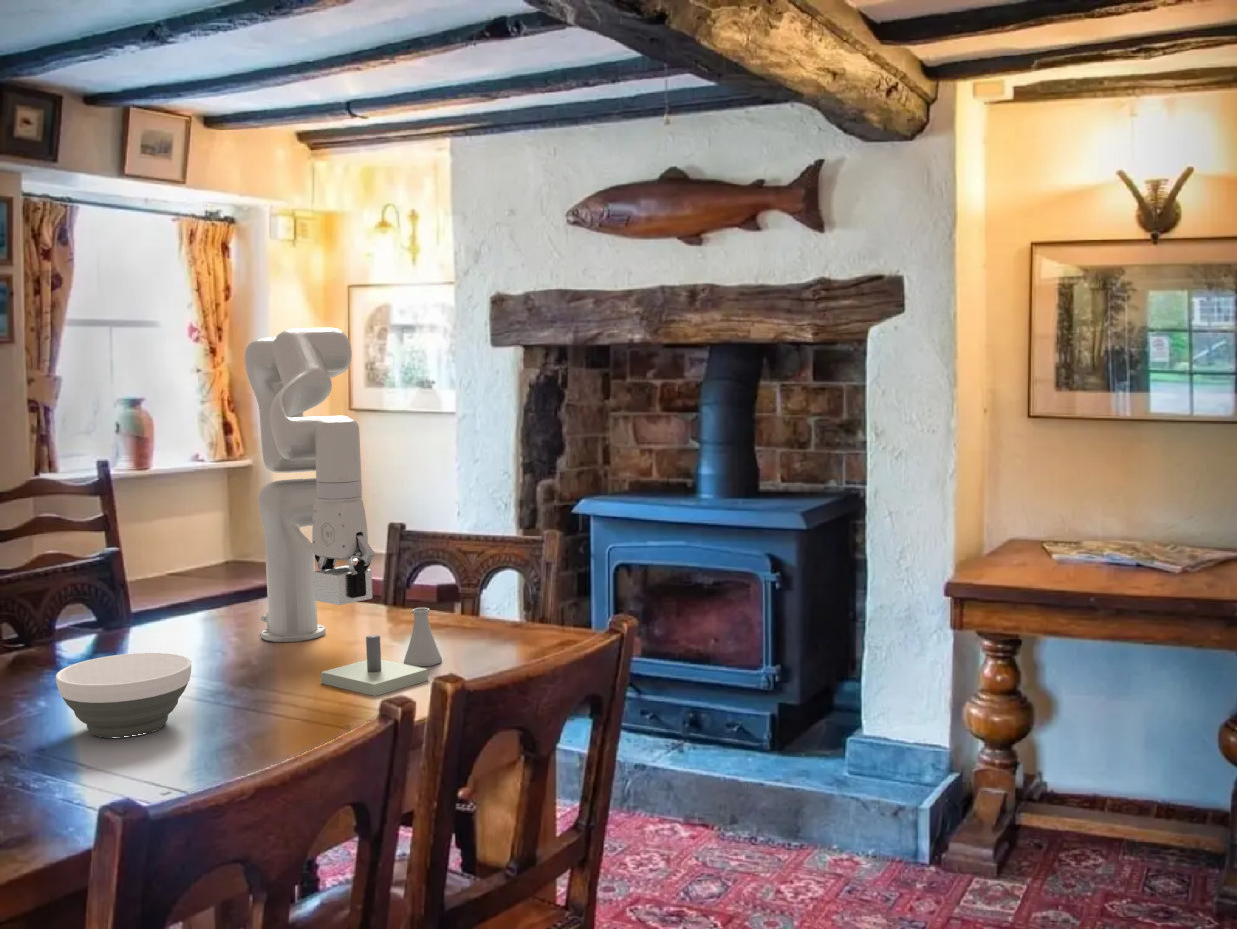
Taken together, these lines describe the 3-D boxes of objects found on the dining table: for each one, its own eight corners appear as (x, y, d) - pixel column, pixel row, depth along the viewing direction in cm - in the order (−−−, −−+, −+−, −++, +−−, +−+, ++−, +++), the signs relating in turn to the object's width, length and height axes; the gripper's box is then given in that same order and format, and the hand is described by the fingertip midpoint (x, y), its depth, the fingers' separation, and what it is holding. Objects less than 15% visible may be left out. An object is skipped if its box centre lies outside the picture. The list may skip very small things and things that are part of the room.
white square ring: (314, 600, 220) (312, 571, 219) (347, 593, 225) (346, 565, 224) (339, 605, 215) (338, 575, 215) (372, 598, 220) (371, 569, 220)
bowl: (59, 756, 185) (55, 691, 184) (59, 720, 203) (55, 661, 202) (200, 736, 193) (197, 675, 192) (188, 704, 211) (185, 647, 210)
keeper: (321, 683, 222) (319, 638, 221) (374, 668, 231) (373, 625, 230) (374, 696, 213) (373, 649, 212) (428, 680, 223) (426, 635, 222)
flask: (434, 668, 231) (433, 614, 230) (396, 667, 232) (394, 613, 231) (448, 658, 238) (446, 605, 237) (411, 657, 239) (409, 604, 238)
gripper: (290, 490, 221) (295, 592, 223) (353, 497, 210) (357, 603, 211) (326, 486, 227) (330, 585, 228) (389, 492, 215) (393, 596, 217)
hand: (343, 593), depth 220 cm, fingers closed on white square ring, 7 cm apart
